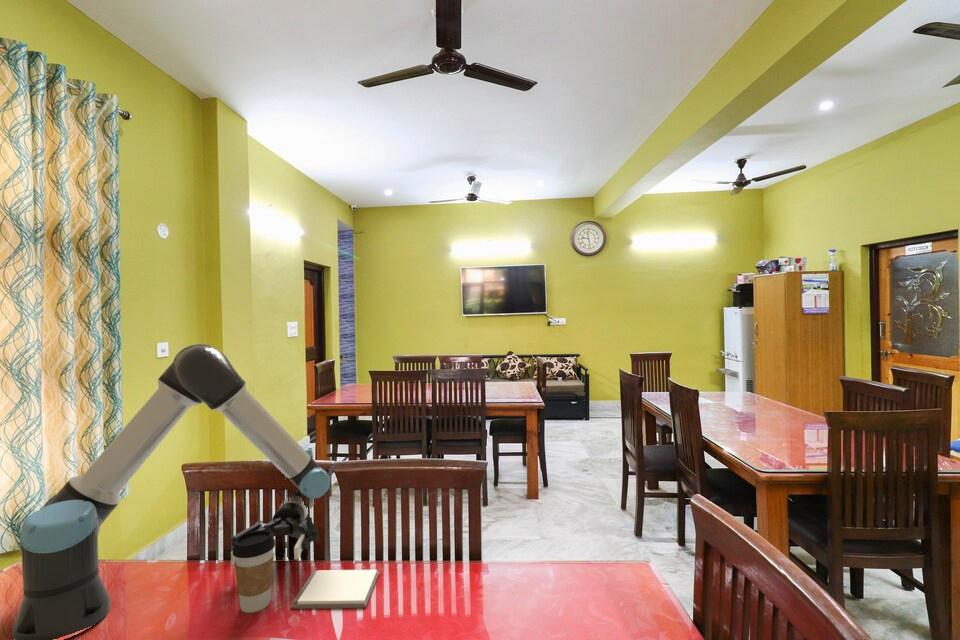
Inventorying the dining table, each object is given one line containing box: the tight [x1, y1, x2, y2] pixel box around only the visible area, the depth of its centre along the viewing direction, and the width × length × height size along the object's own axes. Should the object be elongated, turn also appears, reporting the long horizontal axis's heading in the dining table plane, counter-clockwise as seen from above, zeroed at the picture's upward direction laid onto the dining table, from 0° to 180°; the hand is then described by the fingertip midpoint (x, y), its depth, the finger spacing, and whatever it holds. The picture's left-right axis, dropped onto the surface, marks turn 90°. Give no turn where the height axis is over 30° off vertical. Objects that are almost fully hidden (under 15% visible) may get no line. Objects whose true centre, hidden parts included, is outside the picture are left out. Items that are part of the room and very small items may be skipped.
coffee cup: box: [231, 530, 276, 614], centre depth 103 cm, size 8×8×15 cm
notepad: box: [290, 569, 380, 610], centre depth 107 cm, size 16×13×1 cm
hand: (264, 556), depth 107 cm, fingers open, 13 cm apart
